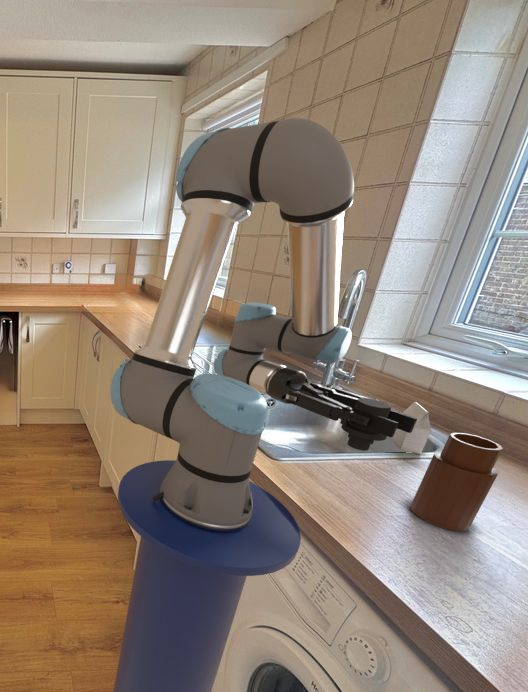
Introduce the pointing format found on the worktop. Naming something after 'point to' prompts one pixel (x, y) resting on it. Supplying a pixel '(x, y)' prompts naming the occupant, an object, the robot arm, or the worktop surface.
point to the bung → (361, 435)
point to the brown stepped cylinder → (457, 481)
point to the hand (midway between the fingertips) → (403, 427)
